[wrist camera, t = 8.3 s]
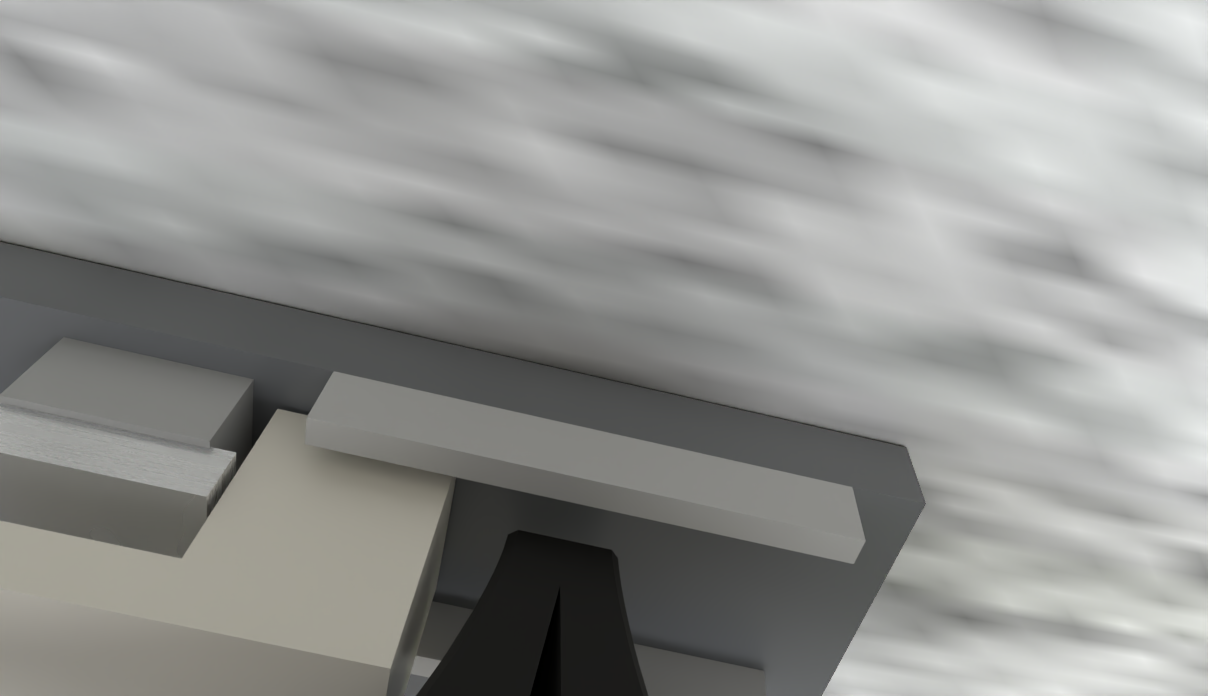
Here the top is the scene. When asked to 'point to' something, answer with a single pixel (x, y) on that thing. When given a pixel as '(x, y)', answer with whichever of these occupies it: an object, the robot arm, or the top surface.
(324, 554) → the latch
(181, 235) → the top surface
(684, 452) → the mount board
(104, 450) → the grey flat bar
